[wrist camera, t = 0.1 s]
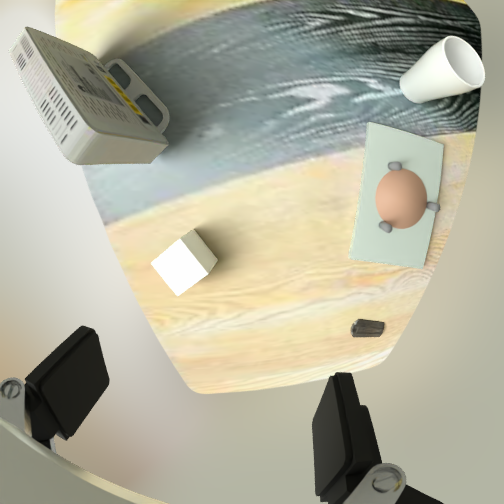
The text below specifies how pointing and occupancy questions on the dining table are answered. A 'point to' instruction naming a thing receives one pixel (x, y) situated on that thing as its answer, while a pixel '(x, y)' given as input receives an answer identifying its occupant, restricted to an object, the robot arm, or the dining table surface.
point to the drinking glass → (443, 72)
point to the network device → (87, 102)
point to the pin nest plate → (396, 197)
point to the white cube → (185, 262)
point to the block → (367, 328)
